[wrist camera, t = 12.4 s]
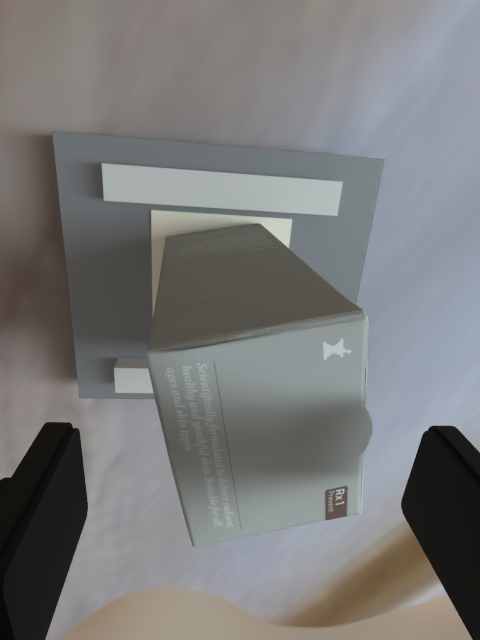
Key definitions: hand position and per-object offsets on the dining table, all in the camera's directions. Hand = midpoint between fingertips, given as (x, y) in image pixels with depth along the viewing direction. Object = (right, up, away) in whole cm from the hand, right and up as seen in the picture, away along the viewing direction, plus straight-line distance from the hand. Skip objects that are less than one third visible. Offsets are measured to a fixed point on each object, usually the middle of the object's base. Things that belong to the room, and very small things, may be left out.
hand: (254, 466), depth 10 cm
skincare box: (-1, +6, +16) cm, 17 cm away
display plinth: (-2, +7, +19) cm, 20 cm away
